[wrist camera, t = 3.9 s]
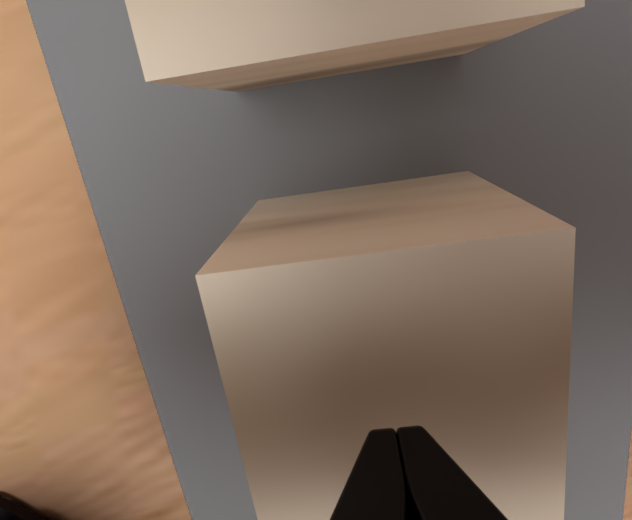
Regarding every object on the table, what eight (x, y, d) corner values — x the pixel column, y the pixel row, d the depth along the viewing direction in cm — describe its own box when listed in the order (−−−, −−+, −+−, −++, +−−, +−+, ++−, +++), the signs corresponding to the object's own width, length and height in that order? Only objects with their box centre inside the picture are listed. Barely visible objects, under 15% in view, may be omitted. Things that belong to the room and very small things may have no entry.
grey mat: (606, 540, 18) (618, 559, 17) (217, 563, 19) (212, 582, 18) (677, -308, 10) (706, -343, 9) (-3, -150, 11) (-28, -169, 10)
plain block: (475, 357, 14) (563, 522, 9) (292, 375, 15) (263, 542, 9) (468, 170, 12) (576, 227, 7) (258, 200, 13) (195, 275, 7)
